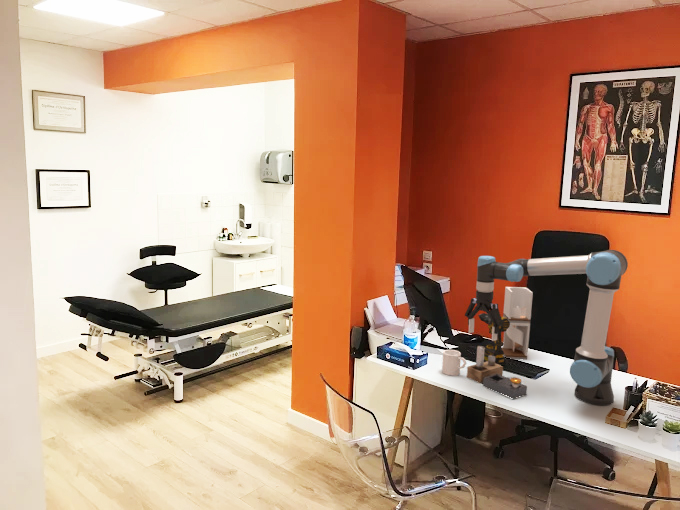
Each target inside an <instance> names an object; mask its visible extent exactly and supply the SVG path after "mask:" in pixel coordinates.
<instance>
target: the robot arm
mask: <svg viewBox="0 0 680 510" xmlns="http://www.w3.org/2000/svg"><path fill="white" fill-rule="evenodd" d="M628 264H629V263H628V259H627V257H626V256H625V255H624V254H623V253H622V252H621V251H619V250H617V249H607V250H603V251H593V252H591V253H589V254H588V255H587V254H586V255H570V256H558V257H557V256H556V257H555V256H554V257H542V258H528V259H526V258H517V259H515V260H512V261H510V262H500V261H499V262H498V261H496V257H495V256H492V255H480V256H479V257H478V259H477V265H476V267H477V268H476V269H477V270H476V273H477V274H476V287H475V289H476V291H475V297H474V298H471V299H470V303H469V306H468V307H467V308H466V311H465V313H464V317H467V325H468V334H472V333H474V332H475V316H476V315H477V314H478V313H479V312H480V311H482V312H483V313H486V314H488V315H489V317H490V319H491V321H492V323H493V325H494V326H492V334H491V341H492V342H493V341H495V340H497V334H498V333H499V326H503V322H502V319H501V317H502V316H501V313H500V310H499V304H498V303H493V301H494V293H495V292H494V290H495V289H494V288H495V280H501V281H508V282H510V283H512V282H513V283H514V282H515V283H518V282H521V281H522V279H523V277H531V276H534V277H536V276H555V275H556V276H557V275H561V276H562V275H577V274H578V275H582V274H586V276H587V278H586V286H587V287H588V288H589V292H588V300H587V303H586V311H585V316H584V317H585V318H584V324H583V331H582V335H581V343H580V346H578V347H576V348H575V354H574V360H573V362H572V363H571V365H570V368H569V375H570V378H571V379H572V380H573V381H574V383H575V384H576V386H575V389H574V394H573V395H574V397H575V398H576V399H578V400H579V401H581V402H583V403H585V404H586V403H587V404H588V405H589V404H590V405H594V406H596V405H597V406H610V405H612V404H613V403H614V399H615V395H614V391H613V387H612V376H613V375H612V374H613V367H614V358H615V350H614V349H613V348H612V347H610V346H606V343H607V337H608V332H609V331H608V330H609V326H610V325H609V324H610V319H611V312H612V307H613V302H614V295H615V292H618V291H619V290H620V287H621V282H622V281H621V280H622V277H623V275H624V274H625V273H626V272H627V270H628V266H629V265H628Z"/></svg>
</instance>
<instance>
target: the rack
mask: <svg viewBox="0 0 680 510" xmlns="http://www.w3.org/2000/svg"><path fill="white" fill-rule="evenodd" d="M503 372H504V366H501V365H499V364H496V363H495V356H491V355H490V356H488V361H487V362H484V363H483V370H482V371H478V370H476V364H473V365H470V366H467V370H466V378H469V379H470V380H473V381H475V382H477V383H479V384H481V383H483V380H484V377H487V376H491V375H494V374H500V375H502V376H504V375H503V374H504V373H503Z"/></svg>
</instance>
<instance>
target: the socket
mask: <svg viewBox="0 0 680 510" xmlns="http://www.w3.org/2000/svg"><path fill="white" fill-rule="evenodd" d="M510 379H511V378H509V377H506V376H505V375H500V374H494V375H491V376H487V377H484V380H483V382H482V383H483V384H482V387H484V388H486V387H487V389H488V388H490V389H489V390H491V389H492V390H491V391H493V390H494V391H493V392H495V391H497V392H499V393H502V394H504V395H507V396H509V397H511V398H515V399H517V398H516V397H518V398H520V397H519V396H521V397H523V396H522V395H524V396H526V395H527V392H528V391H527V390H528V389H527V388H528V386H527V385H525V384H523V383H522V382H521V383H520V384H519V388H514V387H512V382H511V381H510ZM497 392H496V393H497ZM499 393H498V394H499ZM502 394H501V395H502ZM504 395H503V396H504Z"/></svg>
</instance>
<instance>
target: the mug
mask: <svg viewBox="0 0 680 510" xmlns="http://www.w3.org/2000/svg"><path fill="white" fill-rule="evenodd" d="M461 355H462V353H461V352H460V351H459V350H455V349H445V350H443V353H442V366H441V367H442V369H441V370H442V371H441V373H442V374H444V375H447V376H459V375H460V372H461V369H464V368H465V367H466V365H467V362H466V359H465V358H464V357H462V356H461ZM461 361H462V362H463V364H462V366H461Z"/></svg>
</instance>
